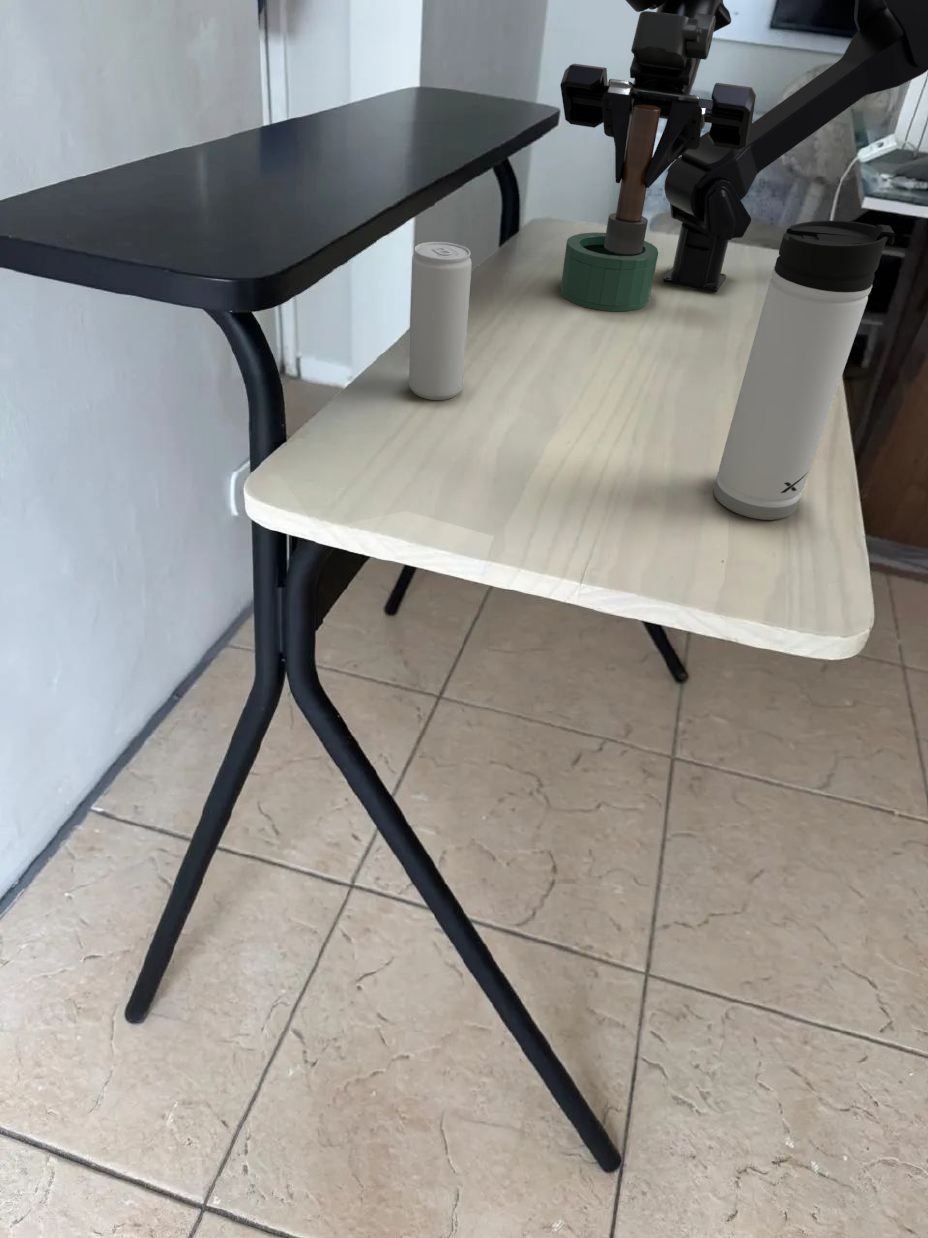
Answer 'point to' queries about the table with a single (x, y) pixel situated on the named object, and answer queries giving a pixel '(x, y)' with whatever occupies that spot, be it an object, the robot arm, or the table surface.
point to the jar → (606, 274)
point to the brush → (633, 184)
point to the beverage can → (439, 319)
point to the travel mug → (797, 363)
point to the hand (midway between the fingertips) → (631, 182)
